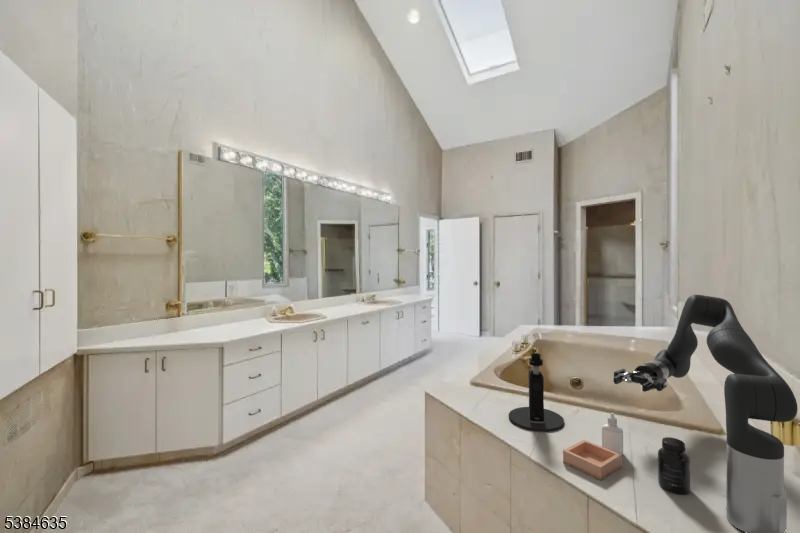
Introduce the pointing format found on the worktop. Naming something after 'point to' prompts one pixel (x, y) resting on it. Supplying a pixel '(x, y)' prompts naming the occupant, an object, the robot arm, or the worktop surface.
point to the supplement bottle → (674, 466)
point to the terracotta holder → (592, 459)
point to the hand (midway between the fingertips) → (629, 384)
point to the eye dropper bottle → (612, 435)
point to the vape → (536, 404)
